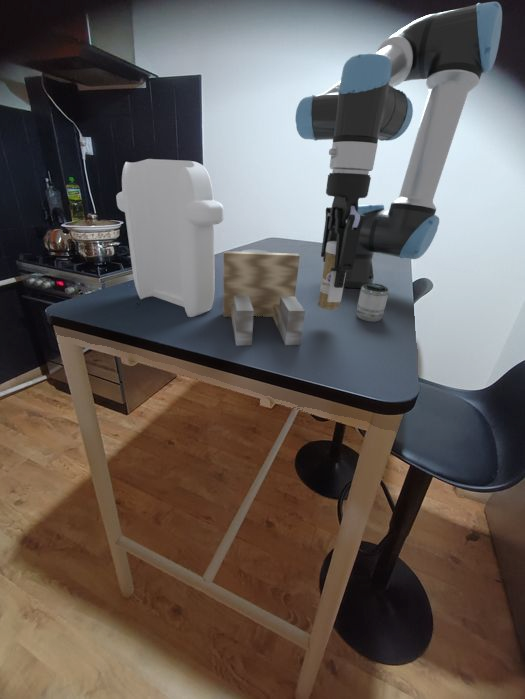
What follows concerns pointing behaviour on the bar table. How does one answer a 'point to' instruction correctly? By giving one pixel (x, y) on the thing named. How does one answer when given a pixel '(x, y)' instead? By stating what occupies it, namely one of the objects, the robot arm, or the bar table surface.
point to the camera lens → (372, 302)
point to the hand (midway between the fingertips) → (329, 296)
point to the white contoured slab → (171, 231)
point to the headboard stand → (262, 293)
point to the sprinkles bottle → (328, 277)
